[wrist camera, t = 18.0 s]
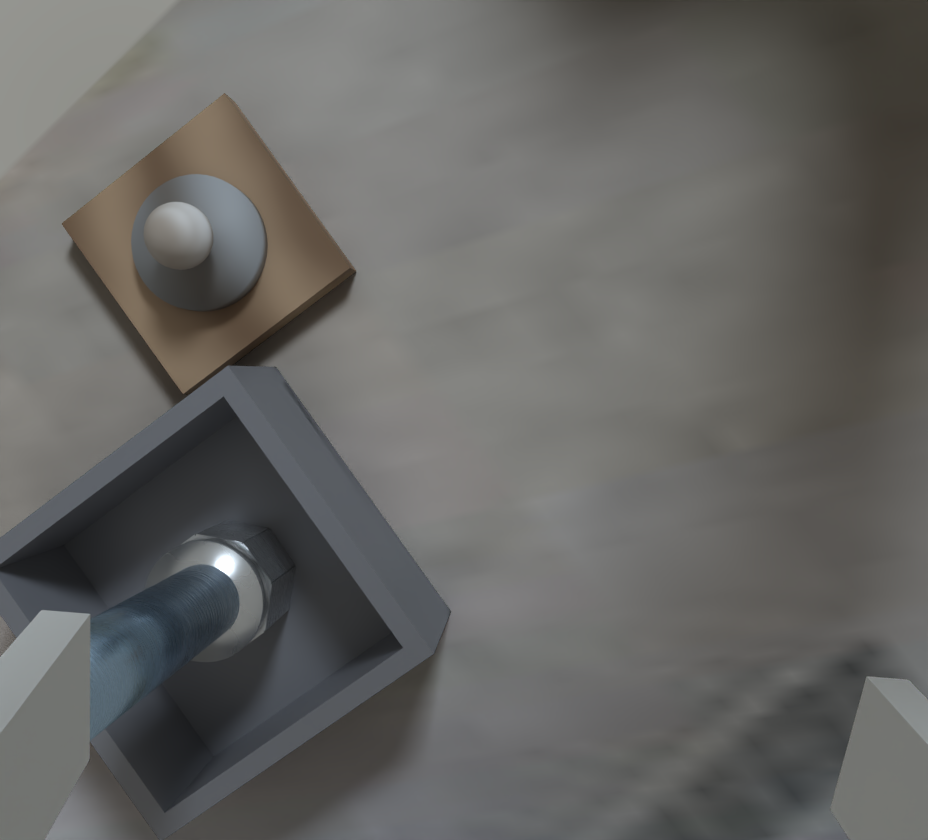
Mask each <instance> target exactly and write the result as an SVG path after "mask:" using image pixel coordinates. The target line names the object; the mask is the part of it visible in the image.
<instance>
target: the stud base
mask: <svg viewBox="0 0 928 840" xmlns="http://www.w3.org/2000/svg"><path fill="white" fill-rule="evenodd" d="M62 225H63V227H64V228H65V229H66V231H67V232H68V234H69V235H70V236H71V238H72V239H73V241H74V242H75V243H76V245H77V246H78V248H79V249H80V250H81V252H82V253H83V255H84V256H85V257H86V259H87V260H88V262H89V263H90V264H91V266H92V267H93V269H94V270H95V271H96V273H97V274H98V276H99V277H100V278H101V280H102V281H103V283H104V284H105V285H106V287H107V288H108V290H109V291H110V292H111V294H112V295H113V297H114V298H115V299H116V301H117V302H118V304H119V305H120V306H121V308H122V309H123V311H124V312H125V313H126V315H127V316H128V318H129V319H130V321H131V322H132V323H133V325H134V326H135V328H136V329H137V330H138V332H139V333H140V335H141V336H142V337H143V339H144V340H145V342H146V343H147V344H148V346H149V347H150V349H151V350H152V351H153V353H154V354H155V356H156V357H157V358H158V360H159V361H160V363H161V364H162V365H163V367H164V368H165V370H166V371H167V372H168V374H169V375H170V377H171V378H172V379H173V381H174V382H175V384H176V385H177V386H178V388H179V389H180V391H181V392H182V393H183V394H191V393H192V392H194V391H195V390H196V389H198V388H199V387H200V386H202V385H203V384H204V383H205V382H207V381H208V380H209V379H211V378H212V377H213V376H215V375H216V374H217V373H219V372H220V371H221V370H223V369H224V368H225V367H227V366H232V365H233V364H234V363H236V362H237V361H238V360H240V359H241V358H242V357H244V356H245V355H246V354H248V353H249V352H250V351H252V350H253V349H254V348H256V347H257V346H258V345H260V344H261V343H262V342H264V341H265V340H266V339H267V338H269V337H270V336H271V335H273V334H274V333H275V332H277V331H278V330H279V329H281V328H282V327H283V326H285V325H286V324H287V323H289V322H290V321H291V320H293V319H294V318H295V317H297V316H298V315H299V314H301V313H302V312H303V311H305V310H306V309H307V308H309V307H310V306H311V305H312V304H314V303H315V302H316V301H318V300H319V299H320V298H322V297H323V296H324V295H326V294H327V293H328V292H330V291H331V290H332V289H334V288H335V287H336V286H338V285H339V284H340V283H342V282H343V281H344V280H346V279H347V278H348V277H350V276H351V275H352V274H354V273H355V272H356V270H355V269H354V267H353V266H352V264H351V263H350V262H349V260H348V259H347V257H346V256H345V255H344V253H343V252H342V251H341V249H340V248H339V246H338V245H337V244H336V242H335V241H334V239H333V238H332V237H331V235H330V234H329V232H328V231H327V230H326V228H325V227H324V225H323V224H322V223H321V221H320V220H319V218H318V217H317V216H316V214H315V213H314V212H313V210H312V209H311V207H310V206H309V205H308V203H307V202H306V200H305V199H304V198H303V196H302V195H301V193H300V192H299V191H298V189H297V188H296V186H295V185H294V184H293V182H292V181H291V179H290V178H289V177H288V175H287V174H286V173H285V171H284V170H283V168H282V167H281V166H280V164H279V163H278V161H277V160H276V159H275V157H274V156H273V154H272V153H271V152H270V150H269V149H268V147H267V146H266V145H265V143H264V142H263V141H262V139H261V138H260V136H259V135H258V134H257V132H256V131H255V129H254V128H253V127H252V125H251V124H250V122H249V121H248V120H247V118H246V117H245V115H244V114H243V113H242V111H241V110H240V108H239V107H238V106H237V104H236V103H235V102H234V101H233V100H232V99H231V98H230V97H228V96H227V95H226V94H225V93H224V94H223V95H222V96H221V97H219V98H218V99H217V100H216V101H214V102H213V103H212V104H211V105H209V106H208V107H207V108H206V109H204V110H203V111H202V112H201V113H199V114H198V115H197V116H196V117H194V118H193V119H192V120H191V121H189V122H188V123H187V124H186V125H184V126H183V127H182V128H181V129H179V130H178V131H177V132H176V133H174V134H173V135H172V136H171V137H169V138H168V139H167V140H166V141H164V142H163V143H162V144H161V145H159V146H158V147H157V148H156V149H154V150H153V151H152V152H151V153H149V154H148V155H147V156H146V157H144V158H143V159H142V160H141V161H139V162H138V163H137V164H136V165H134V166H133V167H132V168H131V169H129V170H128V171H127V172H126V173H124V174H123V175H122V176H121V177H119V178H118V179H117V180H116V181H114V182H113V183H112V184H111V185H109V186H108V187H107V188H106V189H104V190H103V191H102V192H101V193H99V194H98V195H97V196H96V197H94V198H93V199H92V200H91V201H89V202H88V203H87V204H86V205H84V206H83V207H82V208H81V209H79V210H78V211H77V212H76V213H74V214H73V215H72V216H71V217H69V218H68V219H67V220H66V221H64V222H63V223H62Z"/></svg>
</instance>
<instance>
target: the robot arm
mask: <svg viewBox="0 0 928 840" xmlns="http://www.w3.org/2000/svg"><path fill="white" fill-rule="evenodd" d="M89 760H90V614H86V613H73V612H61V611H49V610H41V611H40V612H39V613H38V614H37V616H36V617H35V618H34V619H33V620H32V621H31V622H30V624H29V625H28V626H27V627H26V628H25V629H24V630H23V632H22V633H21V634H20V635H19V636H18V637H17V638H16V640H15V641H14V642H13V643H12V644H11V645H10V647H9V648H8V649H7V650H6V651H5V652H4V653H3V655H2V656H1V657H0V840H45V838H46V836H47V834H48V833H49V831H50V829H51V827H52V825H53V824H54V822H55V820H56V818H57V817H58V815H59V813H60V811H61V810H62V808H63V806H64V804H65V802H66V801H67V799H68V797H69V795H70V794H71V792H72V790H73V788H74V787H75V785H76V783H77V781H78V779H79V778H80V776H81V774H82V772H83V771H84V769H85V767H86V765H87V764H88V762H89ZM830 810H831V812H832V813H833V815H834V816H835V818H836V819H837V821H838V823H839V824H840V826H841V827H842V829H843V830H844V832H845V833H846V835H847V836H848V838H849V839H850V840H928V699H927V698H926V697H925V696H924V695H923V694H922V693H921V692H920V691H919V690H918V689H917V688H916V687H915V686H914V685H913V684H912V683H911V682H910V681H909V680H906V679H894V678H881V677H869V676H867V677H866V680H865V684H864V688H863V691H862V695H861V699H860V702H859V706H858V709H857V713H856V717H855V720H854V724H853V728H852V731H851V735H850V739H849V742H848V746H847V749H846V753H845V757H844V760H843V764H842V768H841V771H840V775H839V778H838V782H837V786H836V789H835V793H834V797H833V800H832V804H831V807H830Z"/></svg>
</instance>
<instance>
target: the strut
mask: <svg viewBox="0 0 928 840" xmlns="http://www.w3.org/2000/svg"><path fill="white" fill-rule="evenodd" d="M268 529H269V528H267V527H262V526H256V525H251V524H245V523H240V522H234V521H229V520H226V521H223V522H221V523H219V524H217V525H214V526H212V527H210V528H208V529H205V530H203V531H201V532H199V533H197V534H194V535H193V536H192V537H190V538H189V539H188V540H186V541H185V542H184V543H182V544H181V545H179V546H177V547H175V548H173V549H171V550H170V551H168V552H167V553H166V554H164V555H163V556H162V557H161V558H160V559H159V560H158V561H157V562H156V564H155V565H154V567H153V568H152V570H151V572H150V574H149V576H148V579H147V582H146V585H145V590H143V591H141V592H140V593H138V594H136V595H134V596H132V597H130V598H128V599H126V600H125V601H123V602H121V603H119V604H117V605H115V606H113V607H111V608H110V609H108V610H106V611H104V612H102V613H100V614H98V615H96V616H95V617H93V618H91V619H90V741H91V740H92V739H93V738H94V737H96V736H97V735H98V734H99V733H101V732H102V731H103V730H104V729H106V728H107V727H108V726H109V725H111V724H112V723H113V722H114V721H116V720H117V719H118V718H119V717H121V716H122V715H123V714H124V713H126V712H127V711H128V710H129V709H130V708H132V707H133V706H134V705H135V704H137V703H138V702H139V701H140V700H142V699H143V698H144V697H145V696H147V695H148V694H149V693H150V692H152V691H153V690H154V689H155V688H157V687H158V686H159V685H160V684H162V683H163V682H164V681H165V680H167V679H168V678H169V677H170V676H172V675H173V674H174V673H175V672H177V671H178V670H179V669H180V668H182V667H183V666H184V665H185V664H187V663H188V662H189V661H190V660H191V661H196V662H215V661H220V660H223V659H226V658H229V657H231V656H233V655H234V654H236V653H237V652H239V651H240V650H241V649H243V648H244V647H245V646H246V645H247V644H248V643H250V642H251V641H253V640H254V639H255V638H257V637H258V636H260V635H261V634H262V633H264V632H265V631H266V630H267V629H268V628H269V627H270V626H272V625H273V624H274V623H275V622H276V621H277V620H278V619H279V618H280V617H281V616H283V615H284V614H285V613H286V612H287V611H288V610H289V609H290V603H291V596H292V590H293V583H294V576H295V569H296V566H294V565H295V563H294V561H293V560H292V559H291V557H290V556H289V554H288V553H287V551H286V550H285V549H284V547H283V546H282V544H281V543H280V542H279V540H278V539H277V537H276V536H275V535H274V533H273V532H272V530H271V529H269V530H268Z"/></svg>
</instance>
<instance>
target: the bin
mask: <svg viewBox="0 0 928 840" xmlns="http://www.w3.org/2000/svg"><path fill="white" fill-rule="evenodd" d="M226 520H229V521H234V522H240V523H245V524H251V525H256V526H262V527H267V528H269V529H271V530H272V532H273V533H274V535H275V536H276V537H277V539H278V540H279V542H280V543H281V544H282V546H283V547H284V549H285V550H286V551H287V553H288V554H289V556H290V557H291V559H292V560H293V561H294V563H295V565H294V566H296V569H295V576H294V583H293V590H292V596H291V603H290V609H289V610H288V611H287V612H286V613H285V614H284V615H283V616H281V617H280V618H279V619H278V620H277V621H276V622H275V623H274V624H273V625H272V626H270V627H269V628H268V629H267V630H266V631H265V632H264V633H262V634H261V635H260V636H258V637H257V638H255V639H254V640H253V641H251V642H250V643H248V644H247V645H246V646H245V647H244V648H243V649H241V650H240V651H239V652H237V653H236V654H234V655H233V656H231V657H229V658H226V659H223V660H220V661H215V662H196V661H191V660H190V661H189V662H188V663H187V664H185V665H184V666H183V667H182V668H180V669H179V670H178V671H177V672H175V673H174V674H173V675H172V676H170V677H169V678H168V679H167V680H165V681H164V682H163V683H162V684H160V685H159V686H158V687H157V688H155V689H154V690H153V691H152V692H150V693H149V694H148V695H147V696H145V697H144V698H143V699H142V700H140V701H139V702H138V703H137V704H135V705H134V706H133V707H132V708H130V709H129V710H128V711H127V712H126V713H124V714H123V715H122V716H121V717H119V718H118V719H117V720H116V721H114V722H113V723H112V724H111V725H109V726H108V727H107V728H106V729H104V730H103V731H102V732H101V733H99V734H98V735H97V736H96V737H94V738H93V739H92V740H91V741H90V743H91V744H92V745H93V747H94V748H95V750H96V751H97V753H98V754H99V755H100V757H101V758H102V760H103V761H104V762H105V764H106V765H107V767H108V768H109V769H110V771H111V772H112V774H113V775H114V777H115V778H116V779H117V781H118V782H119V784H120V785H121V786H122V788H123V789H124V791H125V792H126V794H127V795H128V796H129V798H130V799H131V801H132V802H133V803H134V805H135V806H136V808H137V809H138V811H139V812H140V813H141V815H142V816H143V818H144V819H145V820H146V822H147V823H148V825H149V826H150V828H151V829H152V830H153V832H154V833H155V835H156V836H157V837H158V839H159V840H164V839H165V838H167V837H168V836H170V835H171V834H173V833H174V832H176V831H177V830H178V829H180V828H181V827H183V826H184V825H186V824H187V823H189V822H190V821H192V820H193V819H194V818H196V817H197V816H199V815H200V814H202V813H203V812H205V811H206V810H208V809H209V808H210V807H212V806H213V805H215V804H216V803H218V802H219V801H221V800H222V799H224V798H225V797H226V796H228V795H229V794H231V793H232V792H234V791H235V790H237V789H238V788H239V787H241V786H242V785H244V784H245V783H247V782H248V781H250V780H251V779H253V778H254V777H255V776H257V775H258V774H260V773H261V772H263V771H264V770H266V769H267V768H269V767H270V766H271V765H273V764H274V763H276V762H277V761H279V760H280V759H282V758H283V757H285V756H286V755H287V754H289V753H290V752H292V751H293V750H295V749H296V748H298V747H299V746H301V745H302V744H303V743H305V742H306V741H308V740H309V739H311V738H312V737H314V736H315V735H317V734H318V733H319V732H321V731H322V730H324V729H325V728H327V727H328V726H330V725H331V724H333V723H334V722H335V721H337V720H338V719H340V718H341V717H343V716H344V715H346V714H347V713H349V712H350V711H351V710H353V709H354V708H356V707H357V706H359V705H360V704H362V703H363V702H365V701H366V700H367V699H369V698H370V697H372V696H373V695H375V694H376V693H378V692H379V691H381V690H382V689H383V688H385V687H386V686H388V685H389V684H391V683H392V682H394V681H395V680H397V679H398V678H399V677H401V676H402V675H404V674H405V673H407V672H408V671H410V670H411V669H413V668H414V667H415V666H417V665H418V664H420V663H421V662H423V661H424V660H426V659H427V658H429V657H430V656H431V655H433V654H434V652H435V650H436V647H437V645H438V642H439V640H440V637H441V635H442V632H443V630H444V627H445V625H446V623H447V620H448V618H449V615H450V613H451V611H450V609H449V608H448V607H447V605H446V604H445V602H444V601H443V600H442V598H441V597H440V595H439V594H438V593H437V591H436V590H435V589H434V587H433V586H432V584H431V583H430V582H429V580H428V579H427V577H426V576H425V575H424V573H423V572H422V570H421V569H420V568H419V566H418V565H417V563H416V562H415V561H414V559H413V558H412V556H411V555H410V554H409V552H408V551H407V549H406V548H405V547H404V545H403V544H402V542H401V541H400V540H399V538H398V537H397V535H396V534H395V533H394V531H393V530H392V528H391V527H390V526H389V524H388V523H387V521H386V520H385V519H384V517H383V516H382V514H381V513H380V512H379V510H378V509H377V507H376V506H375V505H374V503H373V502H372V500H371V499H370V498H369V496H368V495H367V493H366V492H365V491H364V489H363V488H362V486H361V485H360V484H359V482H358V481H357V479H356V478H355V477H354V475H353V474H352V472H351V471H350V470H349V468H348V467H347V465H346V464H345V463H344V461H343V460H342V458H341V457H340V456H339V454H338V453H337V451H336V450H335V449H334V447H333V446H332V444H331V443H330V442H329V440H328V439H327V437H326V436H325V435H324V433H323V432H322V431H321V429H320V428H319V426H318V425H317V424H316V422H315V421H314V419H313V418H312V417H311V415H310V414H309V412H308V411H307V410H306V408H305V407H304V405H303V404H302V403H301V401H300V400H299V398H298V397H297V396H296V394H295V393H294V391H293V390H292V389H291V387H290V386H289V384H288V383H287V382H286V380H285V379H284V377H283V376H282V375H281V373H280V372H279V370H278V369H277V368H276V367H258V366H227V367H225V368H224V369H223V370H221V371H220V372H219V373H217V374H216V375H215V376H213V377H212V378H211V379H209V380H208V381H207V382H205V383H204V384H203V385H202V386H200V387H199V388H198V389H196V390H195V391H194V392H192V393H191V394H190V395H188V396H187V397H186V398H184V399H183V400H182V401H180V402H179V403H178V404H176V405H175V406H174V407H172V408H171V409H170V410H168V411H167V412H166V413H165V414H163V415H162V416H161V417H159V418H158V419H157V420H155V421H154V422H153V423H151V424H150V425H149V426H147V427H146V428H145V429H143V430H142V431H141V432H139V433H138V434H137V435H135V436H134V437H133V438H131V439H130V440H129V441H127V442H126V443H125V444H124V445H122V446H121V447H120V448H118V449H117V450H116V451H114V452H113V453H112V454H110V455H109V456H108V457H106V458H105V459H104V460H102V461H101V462H100V463H98V464H97V465H96V466H94V467H93V468H92V469H90V470H89V471H88V472H86V473H85V474H84V475H83V476H81V477H80V478H79V479H77V480H76V481H75V482H73V483H72V484H71V485H69V486H68V487H67V488H65V489H64V490H63V491H61V492H60V493H59V494H57V495H56V496H55V497H53V498H52V499H51V500H49V501H48V502H47V503H45V504H44V505H43V506H42V507H40V508H39V509H38V510H36V511H35V512H34V513H32V514H31V515H30V516H28V517H27V518H26V519H24V520H23V521H22V522H20V523H19V524H18V525H16V526H15V527H14V528H12V529H11V530H10V531H8V532H7V533H6V534H5V535H3V536H2V537H1V538H0V615H1V617H2V618H3V619H4V621H5V622H6V624H7V625H8V626H9V628H10V629H11V631H12V632H13V634H14V635H15V636H16V638H17V637H18V636H19V635H20V634H21V633H22V632H23V630H24V629H25V628H26V627H27V626H28V625H29V624H30V622H31V621H32V620H33V619H34V618H35V617H36V616H37V614H38V613H39V612H40V611H41V610H49V611H61V612H73V613H86V614H90V619H91V618H93V617H95V616H96V615H98V614H100V613H102V612H104V611H106V610H108V609H110V608H111V607H113V606H115V605H117V604H119V603H121V602H123V601H125V600H126V599H128V598H130V597H132V596H134V595H136V594H138V593H140V592H141V591H143V590H145V585H146V582H147V579H148V576H149V574H150V572H151V570H152V568H153V567H154V565H155V564H156V562H157V561H158V560H159V559H160V558H161V557H162V556H163V555H164V554H166V553H167V552H168V551H170V550H171V549H173V548H175V547H177V546H179V545H181V544H182V543H184V542H185V541H186V540H188V539H189V538H190V537H192V536H193V535H194V534H197V533H199V532H201V531H203V530H205V529H208V528H210V527H212V526H214V525H217V524H219V523H221V522H223V521H226ZM269 529H268V530H269Z"/></svg>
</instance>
